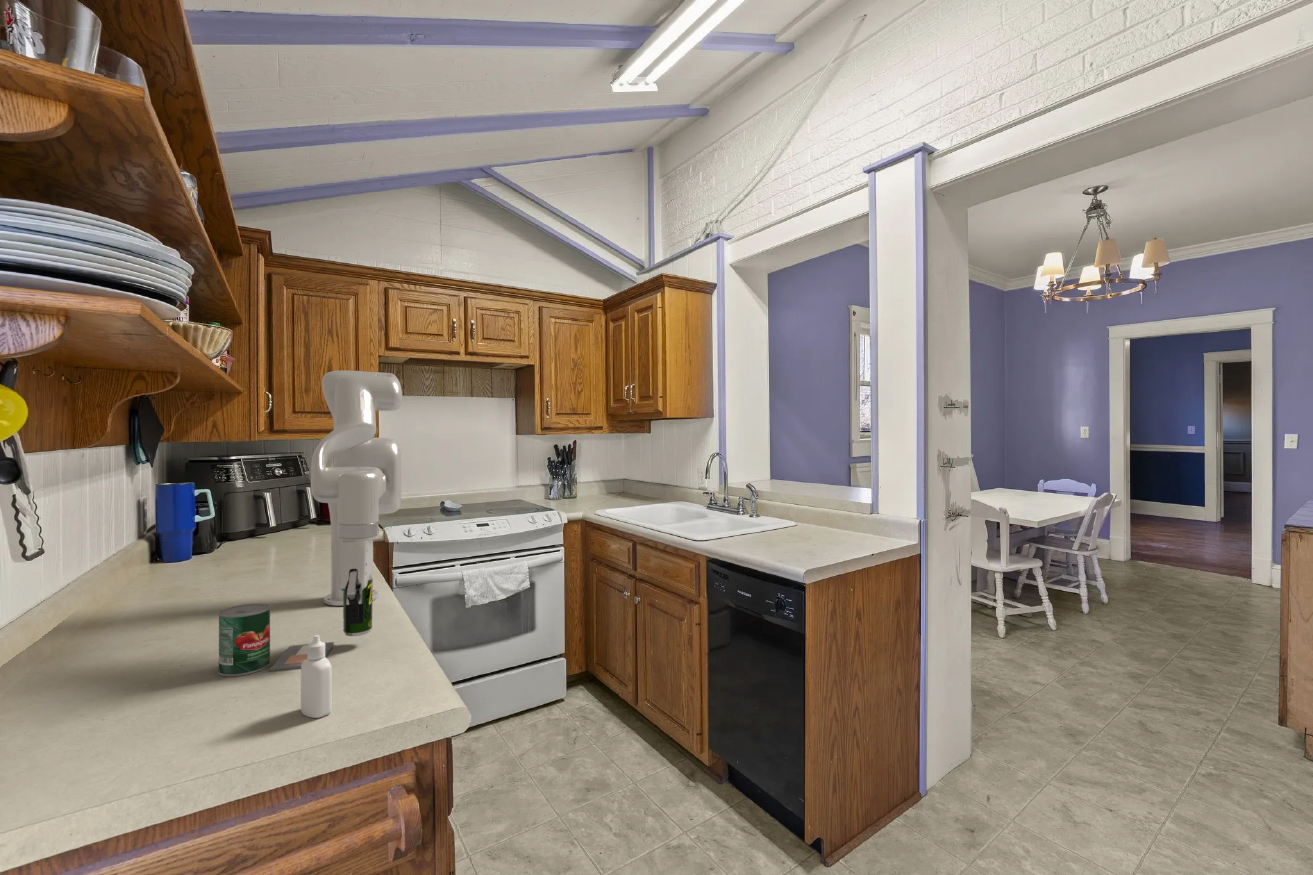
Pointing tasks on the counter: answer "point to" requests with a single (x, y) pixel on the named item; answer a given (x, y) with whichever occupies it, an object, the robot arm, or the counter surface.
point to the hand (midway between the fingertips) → (357, 617)
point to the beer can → (367, 600)
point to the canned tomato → (244, 639)
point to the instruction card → (295, 657)
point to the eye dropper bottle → (316, 681)
